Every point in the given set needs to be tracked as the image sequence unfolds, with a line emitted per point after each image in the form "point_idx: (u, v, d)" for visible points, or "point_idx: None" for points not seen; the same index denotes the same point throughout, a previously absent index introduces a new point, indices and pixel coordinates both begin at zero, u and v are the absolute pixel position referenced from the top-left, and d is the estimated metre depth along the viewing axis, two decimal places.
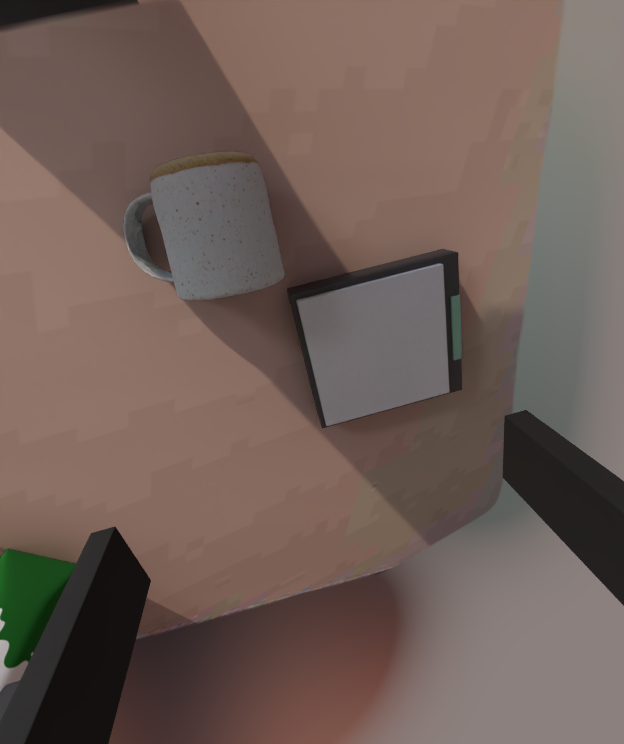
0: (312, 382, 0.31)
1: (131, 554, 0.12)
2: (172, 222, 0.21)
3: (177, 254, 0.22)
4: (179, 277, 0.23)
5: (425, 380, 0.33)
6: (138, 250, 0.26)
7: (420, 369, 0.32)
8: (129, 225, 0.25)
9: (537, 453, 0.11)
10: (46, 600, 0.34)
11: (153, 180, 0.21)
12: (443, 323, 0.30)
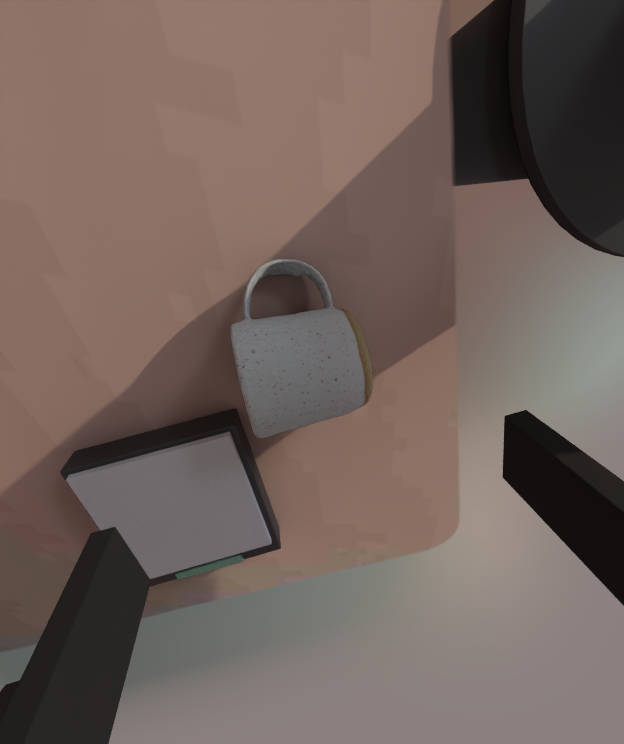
0: (128, 454, 0.26)
1: (131, 554, 0.12)
2: (317, 349, 0.21)
3: (285, 350, 0.20)
4: (260, 348, 0.20)
5: (148, 560, 0.30)
6: (272, 269, 0.24)
7: (162, 552, 0.30)
8: (299, 266, 0.24)
9: (536, 453, 0.11)
10: None
11: (350, 326, 0.22)
12: (215, 558, 0.31)
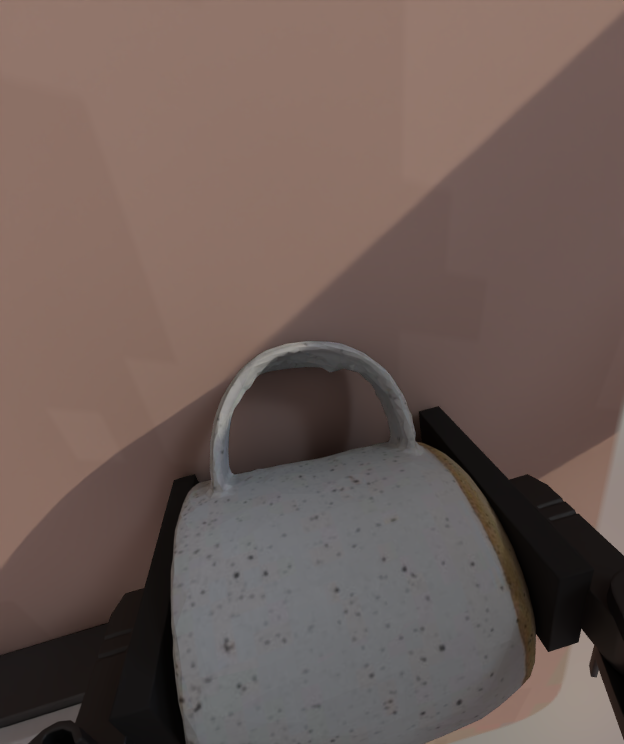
0: None
1: None
2: (407, 622, 0.07)
3: (320, 634, 0.07)
4: (249, 632, 0.07)
5: None
6: (279, 363, 0.10)
7: None
8: (339, 358, 0.10)
9: (439, 444, 0.12)
10: None
11: (485, 535, 0.08)
12: None
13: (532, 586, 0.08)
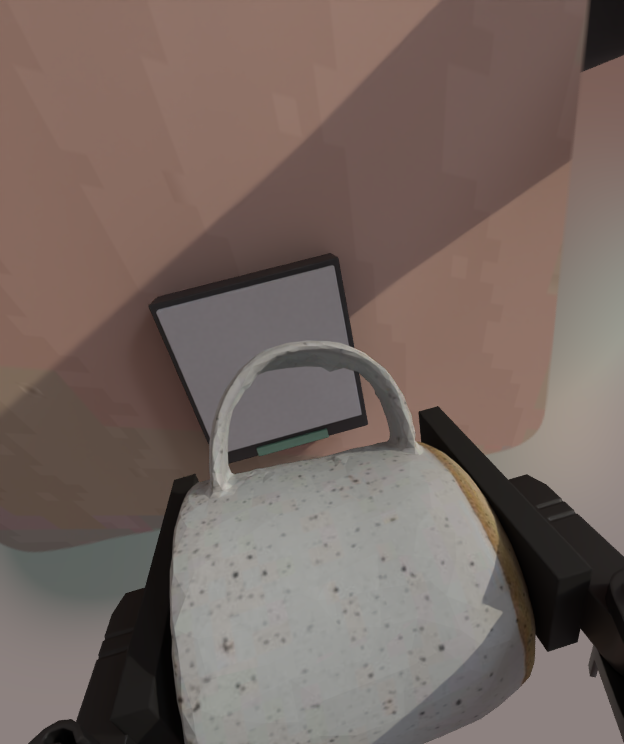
0: (222, 288, 0.24)
1: None
2: (407, 622, 0.07)
3: (319, 633, 0.07)
4: (248, 631, 0.07)
5: (232, 425, 0.27)
6: (278, 363, 0.10)
7: (247, 416, 0.27)
8: (339, 357, 0.10)
9: (438, 444, 0.12)
10: None
11: (484, 535, 0.08)
12: (301, 428, 0.29)
13: (531, 586, 0.08)
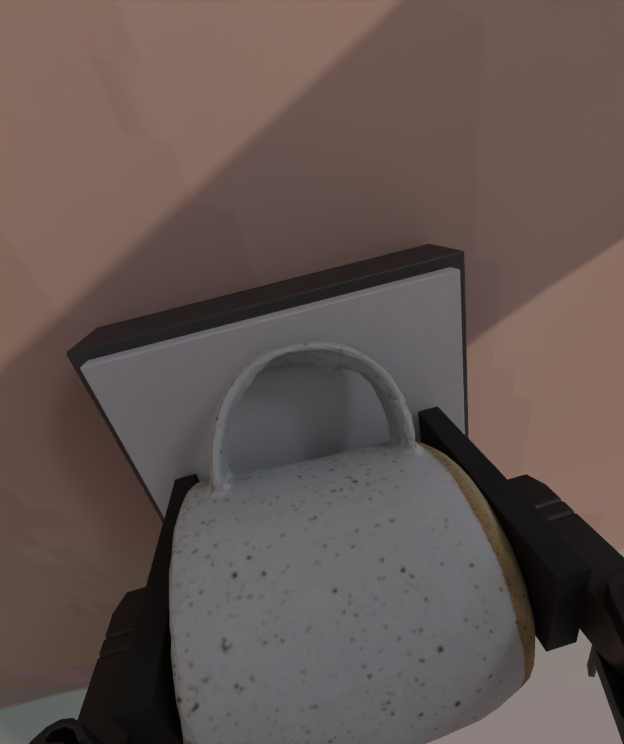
0: (225, 315, 0.11)
1: None
2: (406, 624, 0.07)
3: (318, 634, 0.07)
4: (246, 631, 0.07)
5: None
6: (278, 363, 0.10)
7: None
8: (339, 357, 0.10)
9: (438, 444, 0.12)
10: None
11: (484, 536, 0.08)
12: None
13: (530, 586, 0.08)
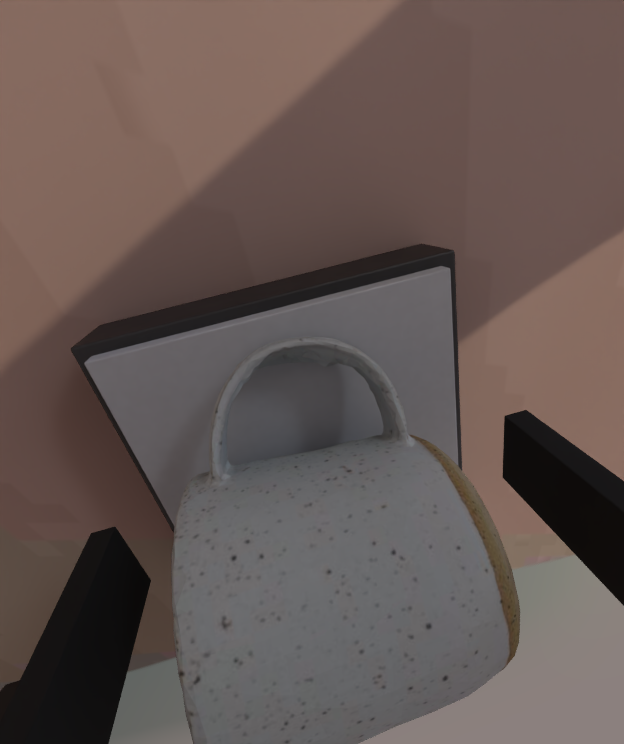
0: (224, 312, 0.12)
1: (131, 554, 0.12)
2: (396, 602, 0.08)
3: (313, 612, 0.08)
4: (245, 610, 0.08)
5: None
6: (275, 358, 0.11)
7: None
8: (333, 353, 0.11)
9: (536, 453, 0.11)
10: None
11: (471, 521, 0.09)
12: None
13: None
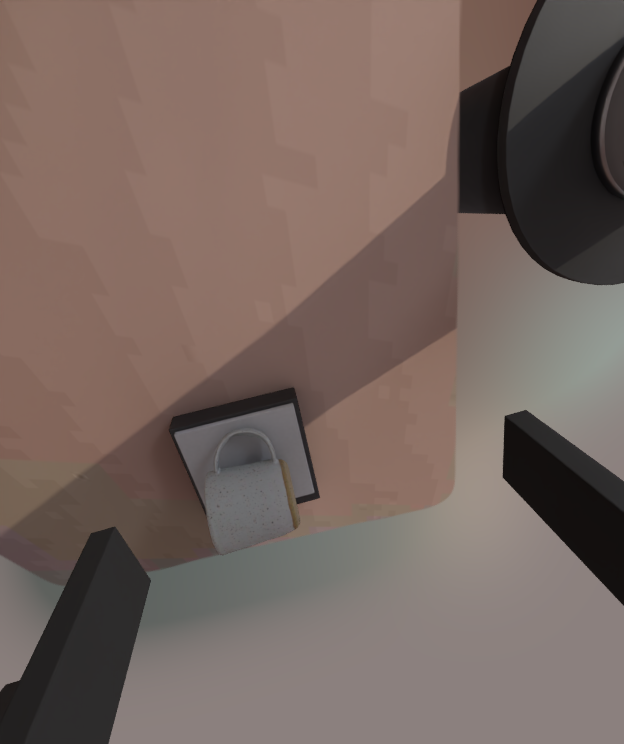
0: (219, 418, 0.36)
1: (131, 554, 0.12)
2: (260, 503, 0.32)
3: (239, 504, 0.32)
4: (223, 503, 0.31)
5: None
6: (234, 435, 0.35)
7: None
8: (252, 434, 0.35)
9: (536, 453, 0.11)
10: None
11: (283, 484, 0.33)
12: None
13: None
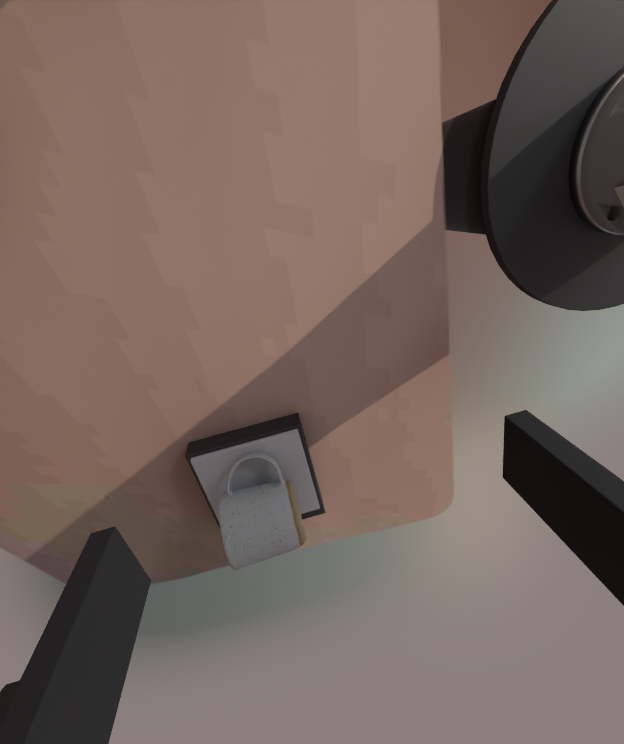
0: (230, 444, 0.39)
1: (131, 554, 0.12)
2: (269, 523, 0.35)
3: (250, 525, 0.35)
4: (235, 524, 0.35)
5: None
6: (245, 460, 0.38)
7: None
8: (261, 459, 0.38)
9: (536, 453, 0.11)
10: None
11: (290, 505, 0.36)
12: None
13: None
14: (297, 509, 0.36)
